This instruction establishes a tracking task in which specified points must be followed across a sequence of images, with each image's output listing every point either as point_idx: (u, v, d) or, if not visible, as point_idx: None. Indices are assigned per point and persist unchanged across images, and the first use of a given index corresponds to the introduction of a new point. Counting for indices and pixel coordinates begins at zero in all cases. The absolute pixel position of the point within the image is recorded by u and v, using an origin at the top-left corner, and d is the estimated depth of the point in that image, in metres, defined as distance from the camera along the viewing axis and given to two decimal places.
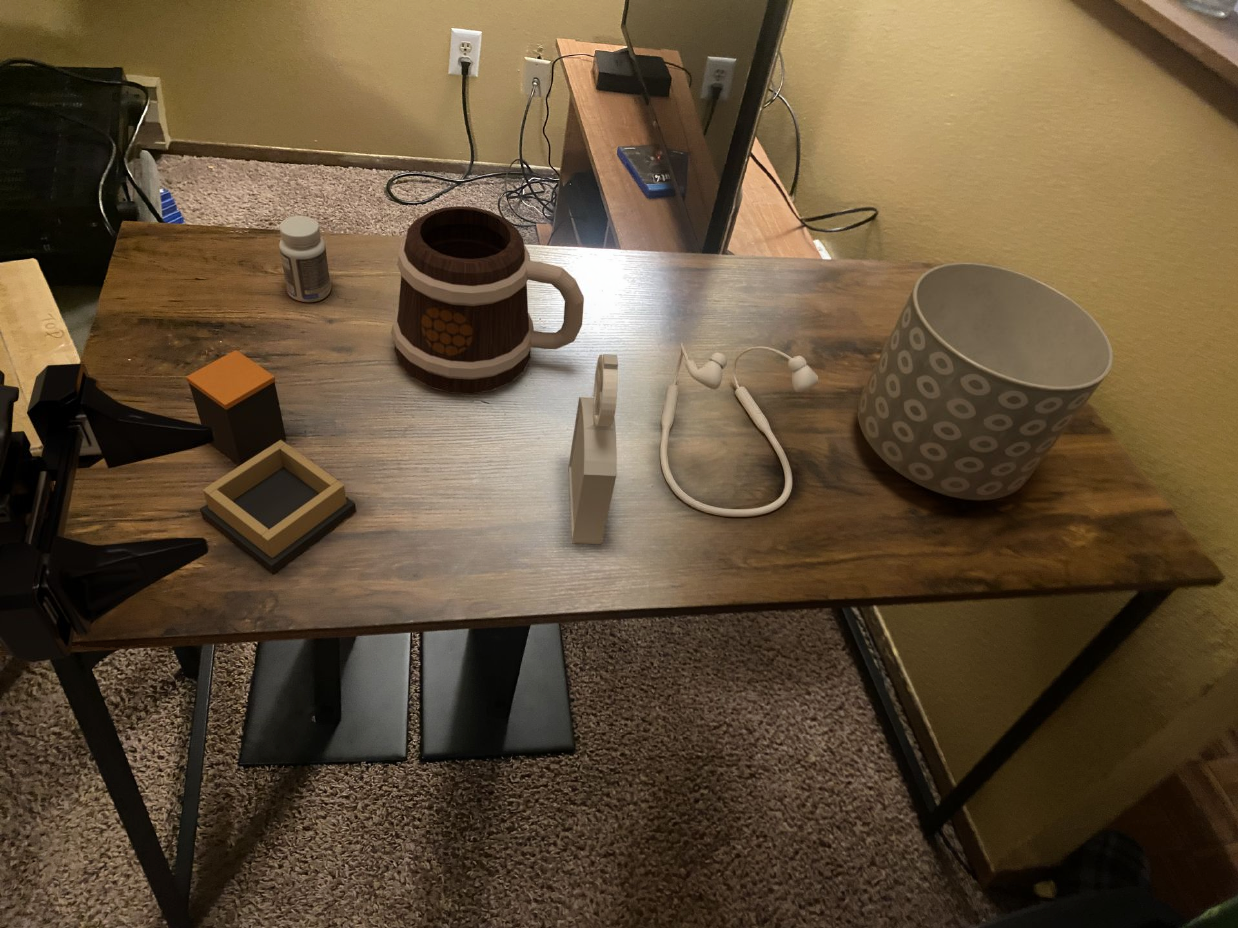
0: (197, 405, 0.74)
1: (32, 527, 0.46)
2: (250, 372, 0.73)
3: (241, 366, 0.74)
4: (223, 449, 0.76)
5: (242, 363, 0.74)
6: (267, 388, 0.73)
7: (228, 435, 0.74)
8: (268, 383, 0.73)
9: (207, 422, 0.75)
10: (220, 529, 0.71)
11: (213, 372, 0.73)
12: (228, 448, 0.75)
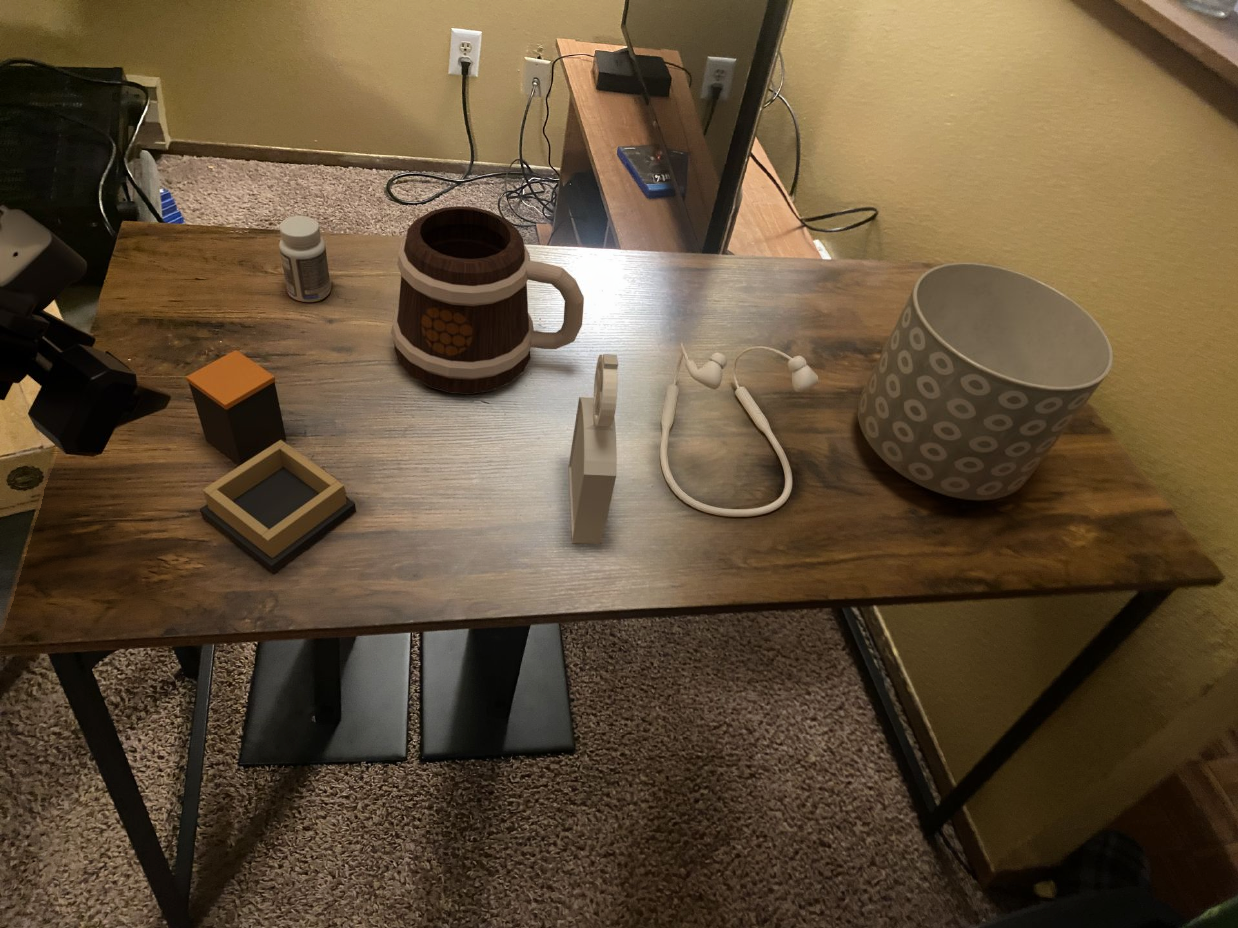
0: (197, 405, 0.74)
1: (57, 349, 0.54)
2: (250, 372, 0.73)
3: (241, 366, 0.74)
4: (223, 449, 0.76)
5: (242, 363, 0.74)
6: (267, 388, 0.73)
7: (228, 435, 0.74)
8: (268, 383, 0.73)
9: (207, 422, 0.75)
10: (220, 529, 0.71)
11: (213, 372, 0.73)
12: (228, 448, 0.75)
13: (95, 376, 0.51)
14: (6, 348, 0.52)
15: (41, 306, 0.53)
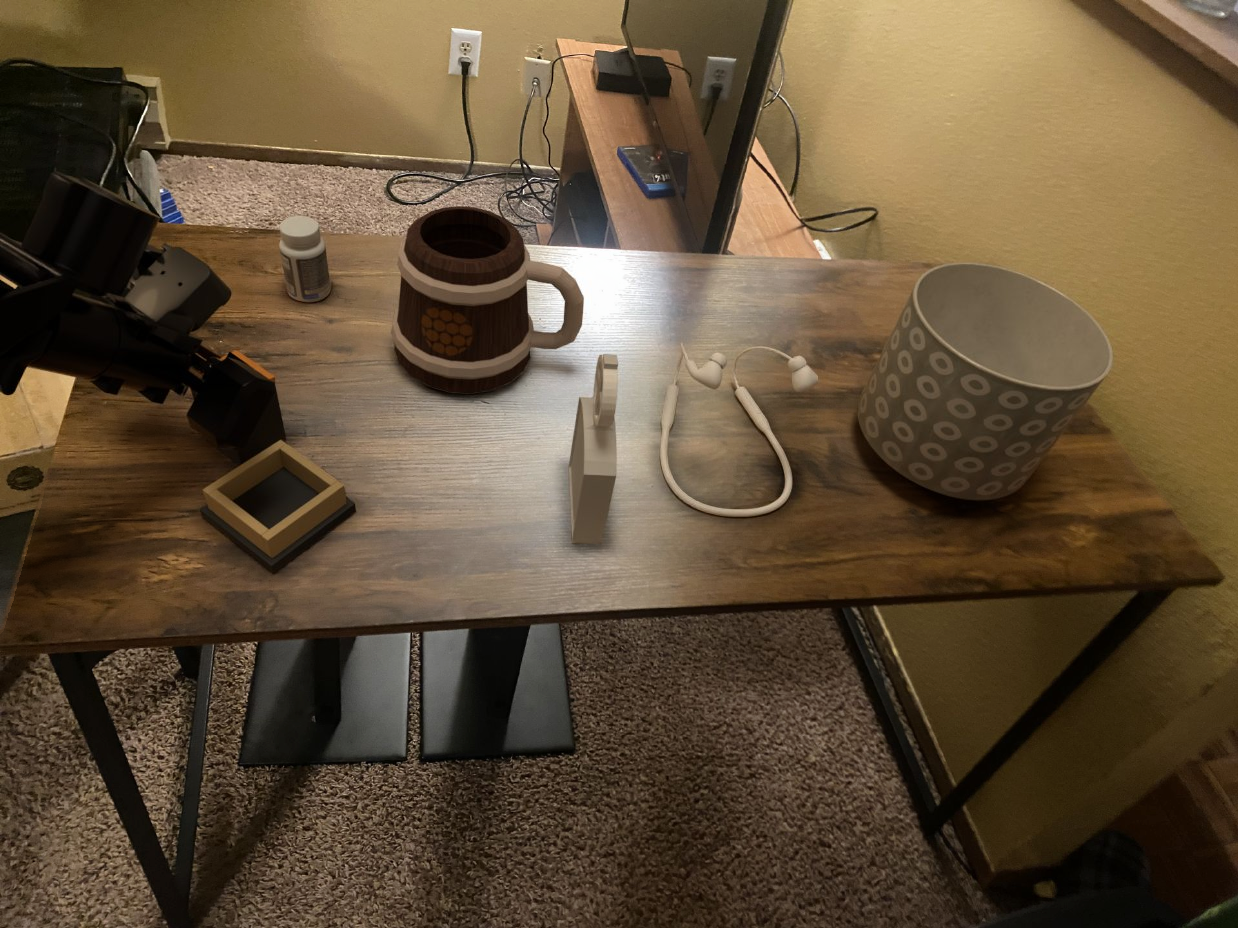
0: None
1: None
2: None
3: None
4: (223, 449, 0.76)
5: None
6: None
7: None
8: None
9: None
10: (220, 529, 0.71)
11: None
12: None
13: (245, 383, 0.62)
14: (170, 361, 0.63)
15: (197, 326, 0.64)
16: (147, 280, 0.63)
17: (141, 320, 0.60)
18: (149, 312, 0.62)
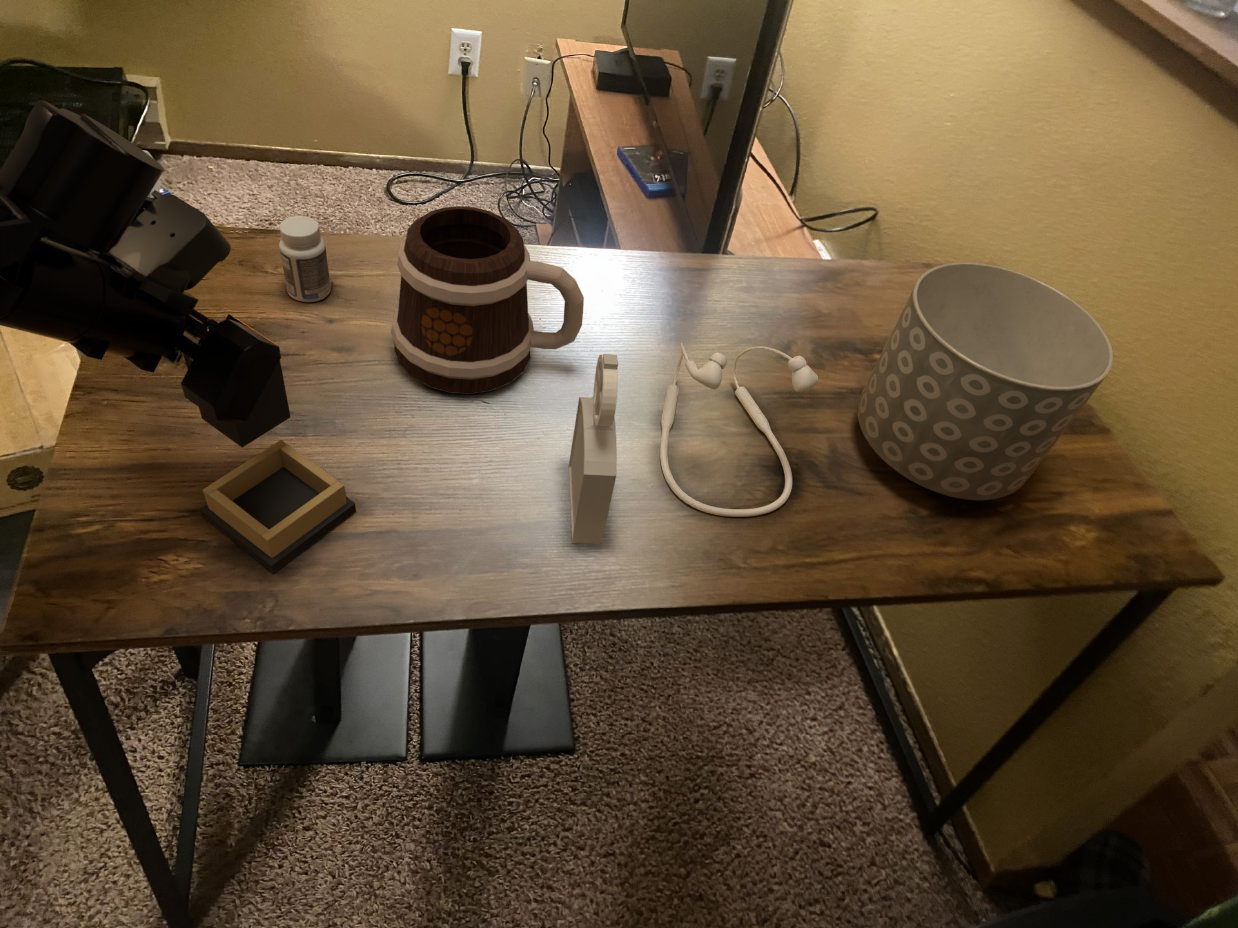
0: None
1: None
2: None
3: None
4: (221, 428, 0.69)
5: None
6: None
7: None
8: None
9: None
10: (220, 529, 0.71)
11: None
12: (226, 426, 0.68)
13: (248, 347, 0.55)
14: (161, 323, 0.56)
15: (192, 284, 0.57)
16: (135, 231, 0.56)
17: (129, 274, 0.53)
18: (138, 266, 0.54)
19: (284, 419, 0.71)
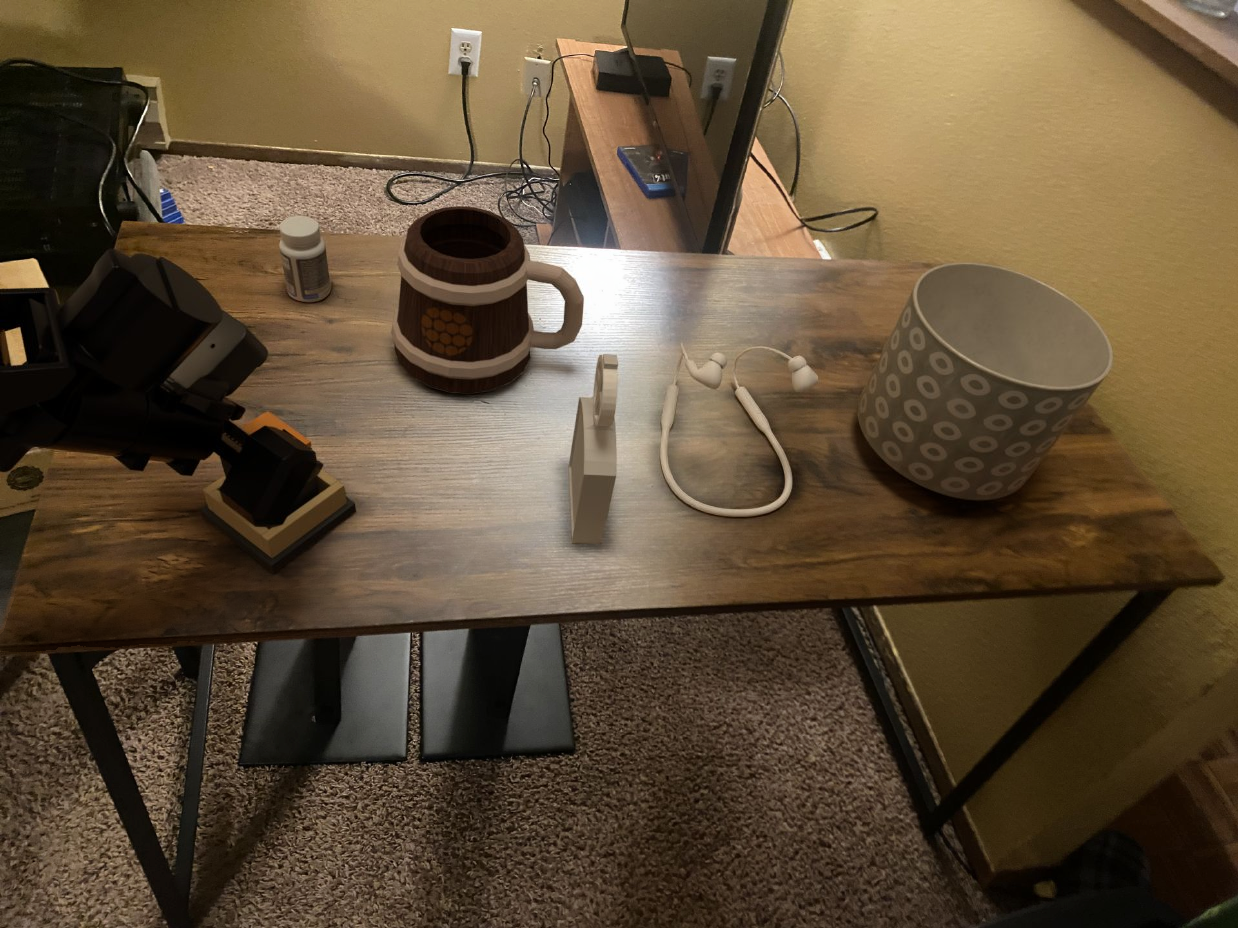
0: (226, 472, 0.68)
1: (240, 428, 0.59)
2: None
3: None
4: None
5: (275, 426, 0.68)
6: None
7: None
8: None
9: None
10: (220, 529, 0.71)
11: None
12: None
13: (286, 457, 0.56)
14: (201, 431, 0.57)
15: (230, 391, 0.58)
16: None
17: (171, 389, 0.54)
18: (179, 378, 0.55)
19: None
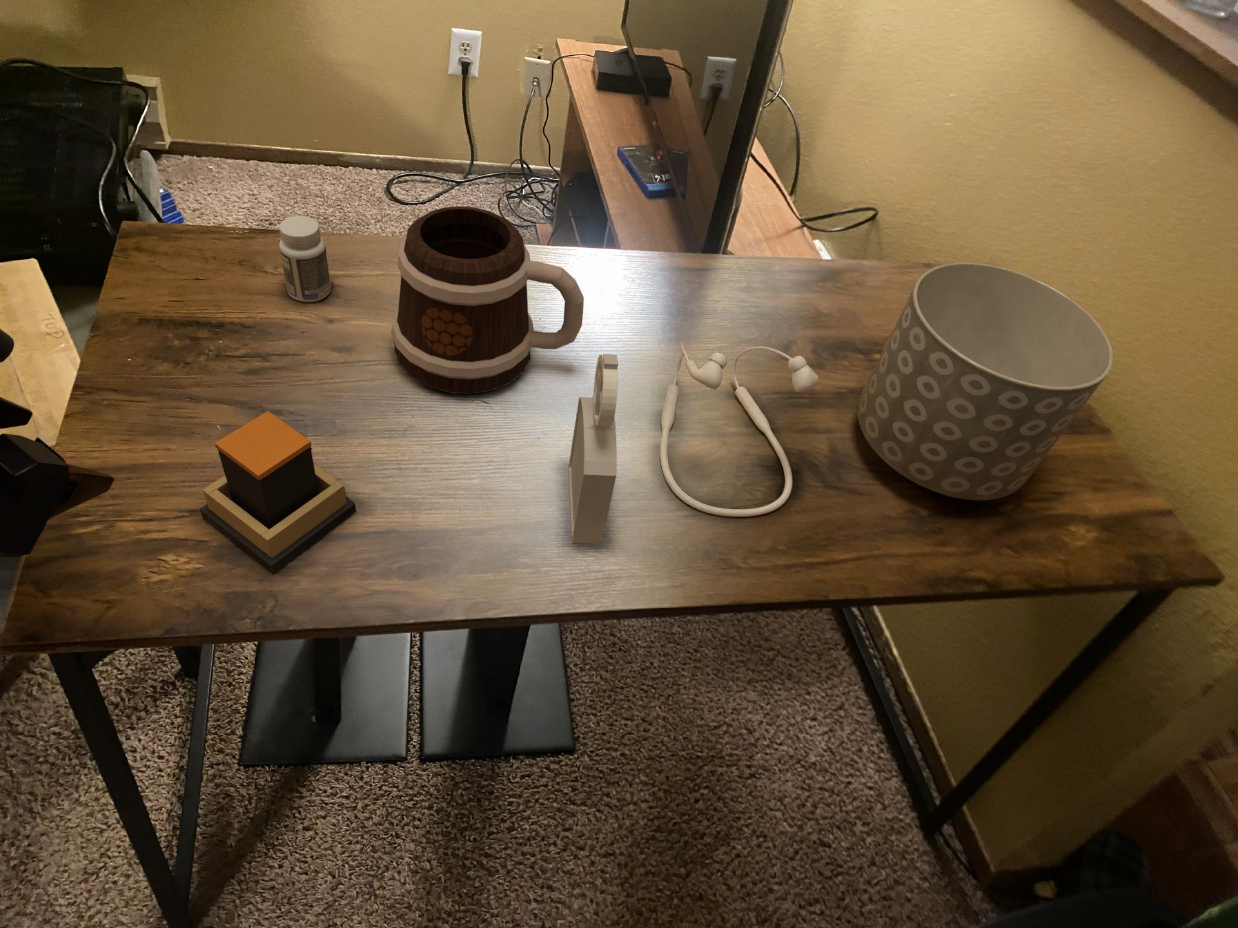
0: (226, 472, 0.68)
1: None
2: (284, 437, 0.67)
3: (274, 430, 0.68)
4: None
5: (275, 426, 0.68)
6: (302, 453, 0.67)
7: (260, 504, 0.68)
8: (304, 449, 0.67)
9: (237, 489, 0.69)
10: (220, 529, 0.71)
11: (244, 437, 0.67)
12: (259, 517, 0.69)
13: (19, 472, 0.46)
14: None
15: None
16: None
17: None
18: None
19: None
